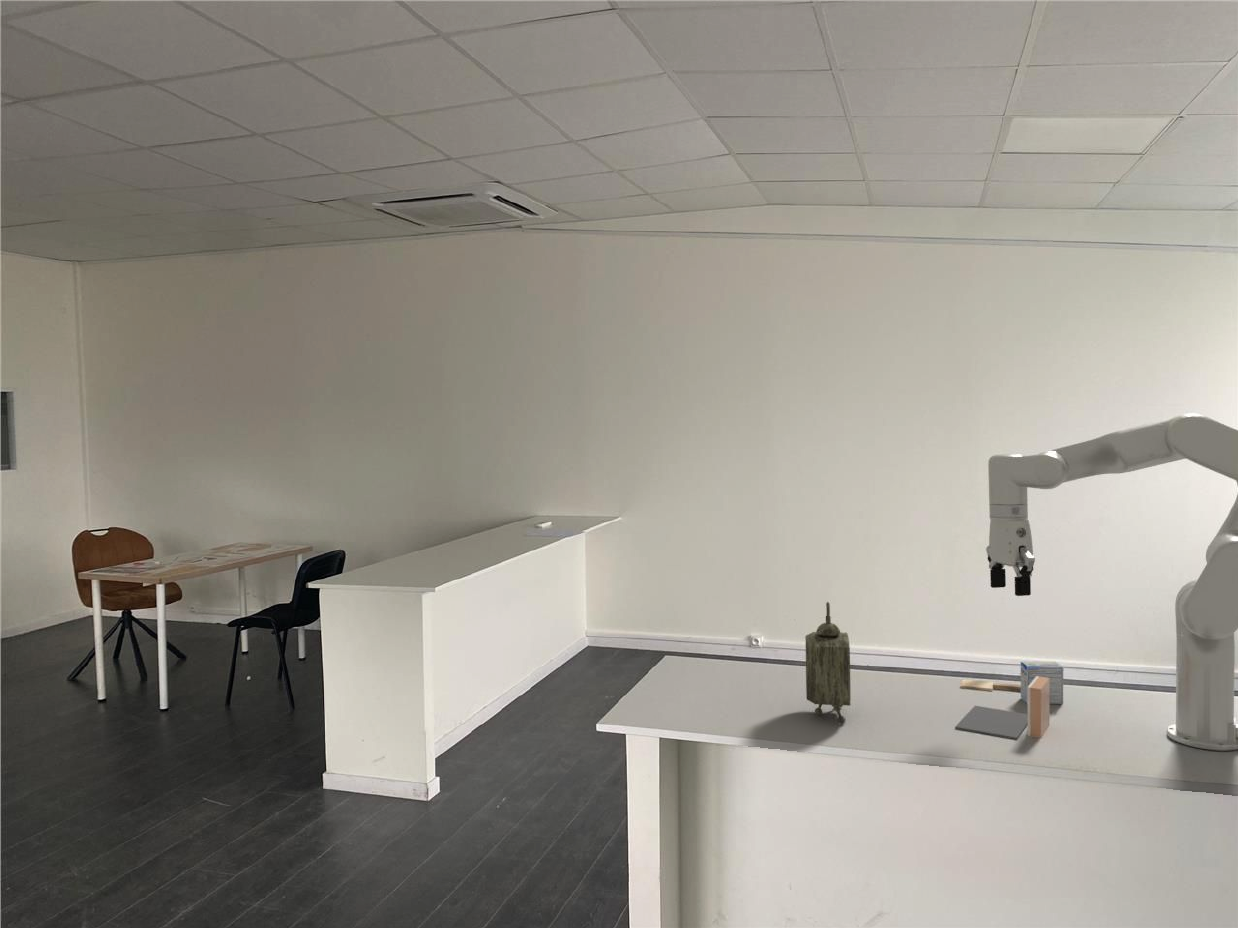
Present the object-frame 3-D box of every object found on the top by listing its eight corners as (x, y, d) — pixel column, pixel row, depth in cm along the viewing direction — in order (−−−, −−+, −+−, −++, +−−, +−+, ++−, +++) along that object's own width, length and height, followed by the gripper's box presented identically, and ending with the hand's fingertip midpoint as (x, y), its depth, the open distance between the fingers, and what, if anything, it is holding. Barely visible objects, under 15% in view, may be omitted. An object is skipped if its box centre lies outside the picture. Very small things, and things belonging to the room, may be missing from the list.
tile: (1049, 724, 184) (1049, 677, 183) (1041, 738, 176) (1040, 689, 176) (1036, 722, 185) (1036, 676, 185) (1027, 735, 178) (1027, 687, 177)
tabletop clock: (850, 727, 185) (849, 610, 184) (807, 725, 187) (805, 609, 185) (847, 705, 199) (845, 596, 198) (806, 703, 201) (804, 595, 200)
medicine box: (1056, 698, 200) (1056, 661, 200) (1063, 704, 196) (1063, 666, 196) (1020, 698, 201) (1020, 660, 201) (1027, 704, 197) (1027, 666, 196)
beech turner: (1039, 688, 207) (1039, 684, 207) (1039, 695, 202) (1039, 691, 202) (962, 681, 215) (962, 677, 215) (960, 688, 210) (960, 683, 210)
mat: (1033, 716, 189) (1033, 714, 189) (1017, 739, 176) (1017, 737, 176) (974, 707, 196) (974, 705, 196) (955, 728, 183) (955, 726, 183)
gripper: (1048, 514, 179) (1050, 597, 180) (1003, 507, 197) (1005, 583, 197) (1013, 516, 179) (1015, 599, 179) (971, 509, 196) (973, 585, 197)
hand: (1010, 591), depth 188 cm, fingers open, 9 cm apart
